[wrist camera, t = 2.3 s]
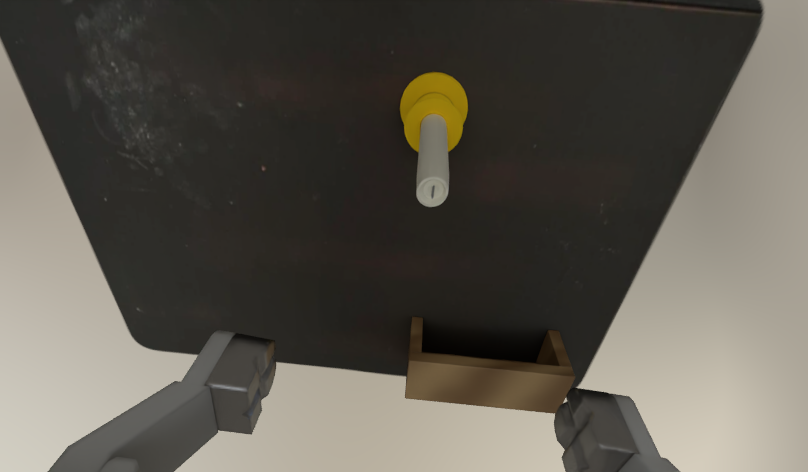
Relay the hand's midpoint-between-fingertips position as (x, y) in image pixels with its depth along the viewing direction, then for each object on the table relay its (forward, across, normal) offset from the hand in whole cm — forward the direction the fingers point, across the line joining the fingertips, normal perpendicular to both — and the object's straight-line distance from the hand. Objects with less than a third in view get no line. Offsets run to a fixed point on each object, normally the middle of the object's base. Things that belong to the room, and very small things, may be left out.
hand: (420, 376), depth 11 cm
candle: (+24, 0, -1) cm, 24 cm away
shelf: (+24, -10, +24) cm, 35 cm away
